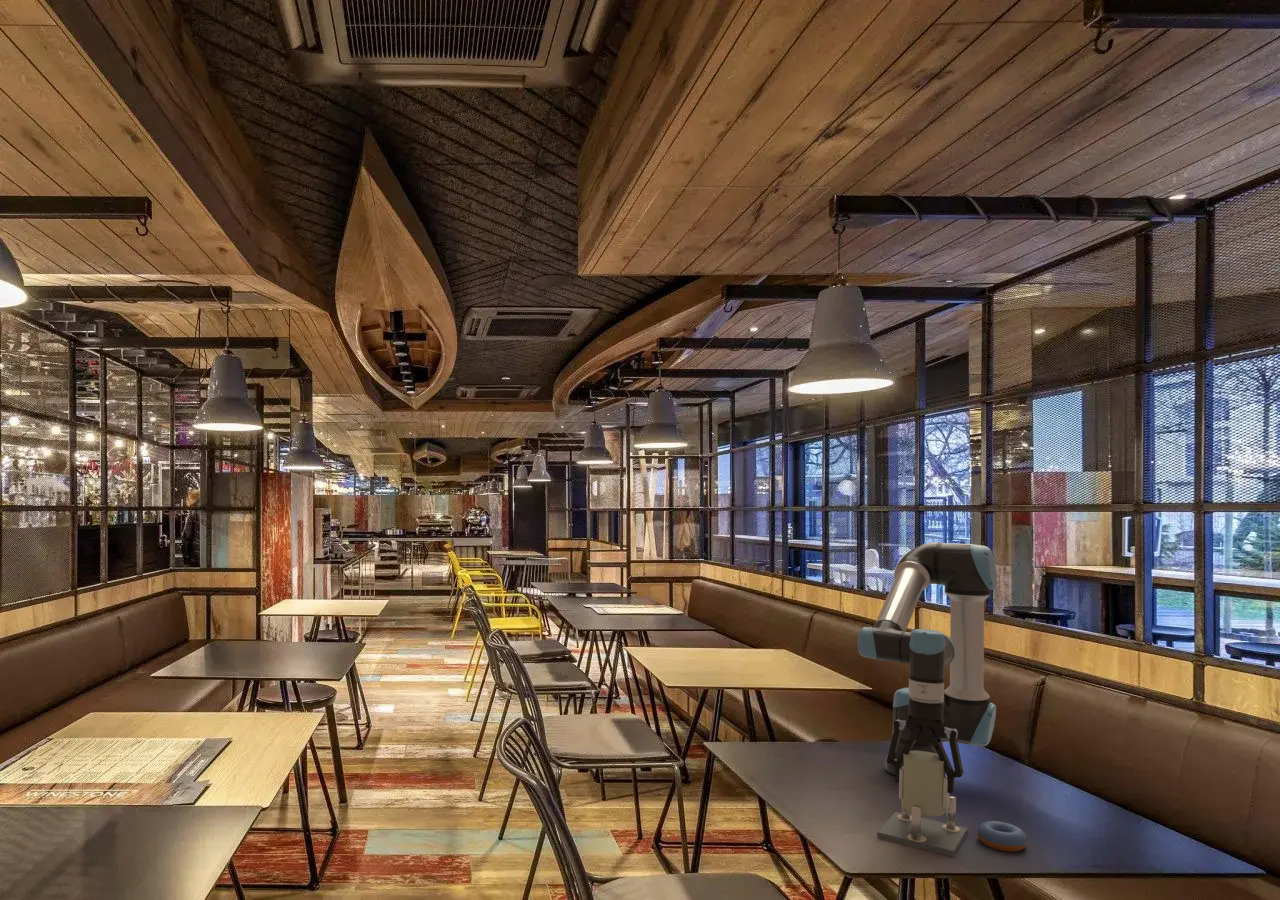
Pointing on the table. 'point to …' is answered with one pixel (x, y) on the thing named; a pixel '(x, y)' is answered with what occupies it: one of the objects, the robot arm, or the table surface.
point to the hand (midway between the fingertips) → (923, 802)
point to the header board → (924, 835)
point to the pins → (916, 818)
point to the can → (923, 782)
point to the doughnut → (1002, 836)
